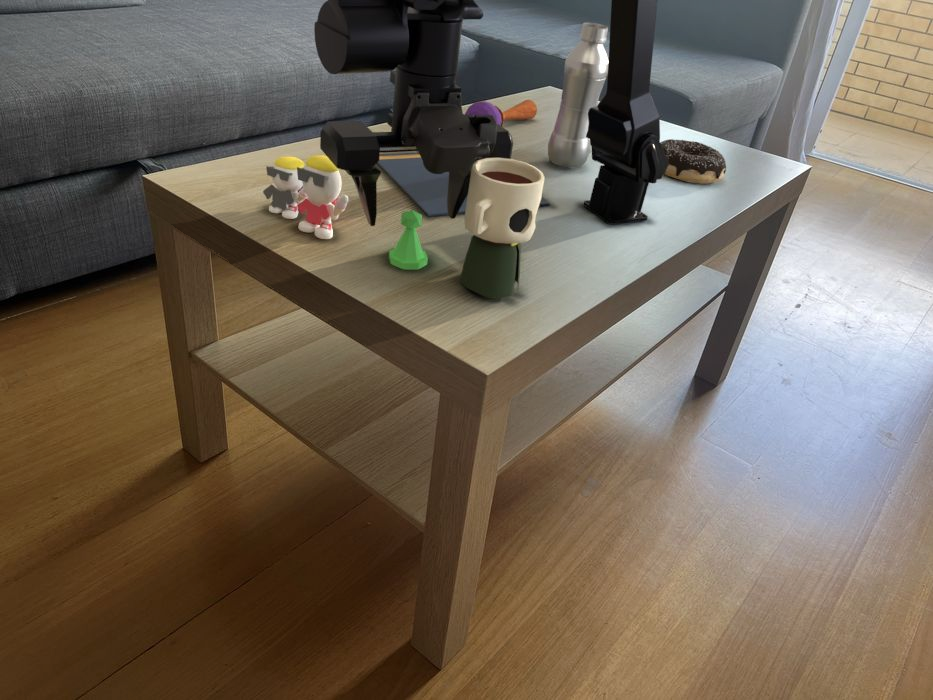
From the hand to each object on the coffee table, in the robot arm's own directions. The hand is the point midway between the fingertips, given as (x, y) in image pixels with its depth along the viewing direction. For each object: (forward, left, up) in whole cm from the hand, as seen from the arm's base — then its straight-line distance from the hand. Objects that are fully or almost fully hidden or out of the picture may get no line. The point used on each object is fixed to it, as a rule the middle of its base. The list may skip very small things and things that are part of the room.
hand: (412, 220), depth 77 cm
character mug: (-6, +8, -5) cm, 11 cm away
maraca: (-33, -38, -5) cm, 51 cm away
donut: (-55, -17, -5) cm, 58 cm away
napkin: (-16, -20, -5) cm, 26 cm away
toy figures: (+8, -11, -5) cm, 15 cm away
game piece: (0, 0, -5) cm, 5 cm away
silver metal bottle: (-36, -23, -5) cm, 43 cm away
